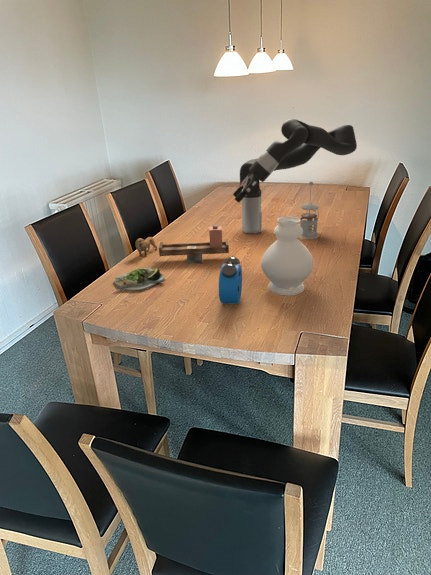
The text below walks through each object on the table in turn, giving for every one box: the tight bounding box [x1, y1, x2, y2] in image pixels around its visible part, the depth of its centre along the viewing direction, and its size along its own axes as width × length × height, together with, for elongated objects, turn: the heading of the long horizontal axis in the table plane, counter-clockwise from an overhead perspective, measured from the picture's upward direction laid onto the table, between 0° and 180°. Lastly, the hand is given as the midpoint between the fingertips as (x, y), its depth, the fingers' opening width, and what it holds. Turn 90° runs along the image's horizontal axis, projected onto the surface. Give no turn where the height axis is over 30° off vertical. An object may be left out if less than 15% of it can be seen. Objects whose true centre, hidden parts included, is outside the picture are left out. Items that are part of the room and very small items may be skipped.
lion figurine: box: [135, 236, 158, 258], centre depth 187 cm, size 15×5×9 cm, turn 163°
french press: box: [299, 181, 320, 240], centre depth 198 cm, size 10×12×25 cm
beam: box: [158, 238, 230, 265], centre depth 179 cm, size 28×7×8 cm, turn 91°
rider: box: [208, 224, 223, 247], centre depth 176 cm, size 5×4×9 cm
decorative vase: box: [260, 215, 314, 296], centre depth 149 cm, size 18×18×25 cm
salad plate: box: [113, 267, 167, 292], centre depth 162 cm, size 19×18×5 cm
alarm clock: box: [218, 255, 243, 307], centre depth 143 cm, size 13×6×15 cm, turn 169°
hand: (235, 198), depth 171 cm, fingers open, 8 cm apart
